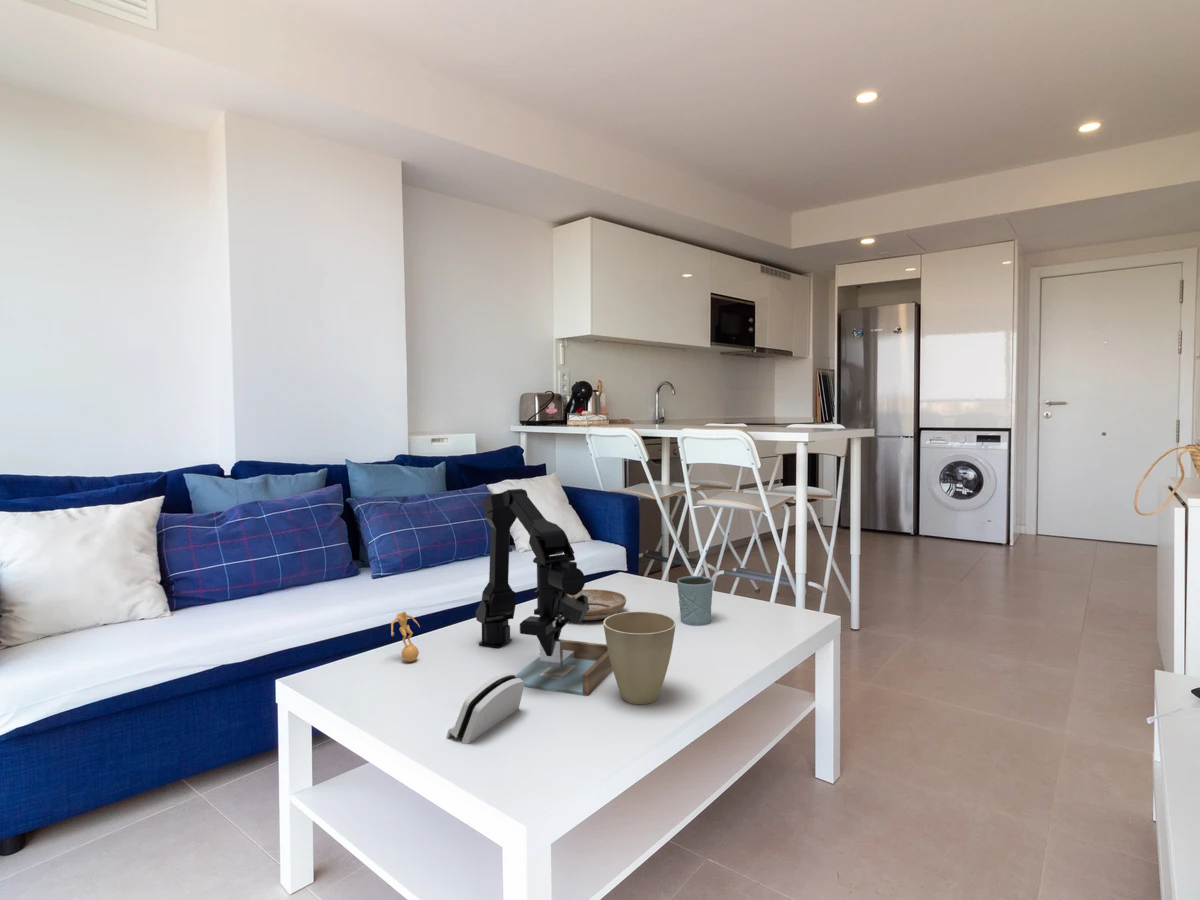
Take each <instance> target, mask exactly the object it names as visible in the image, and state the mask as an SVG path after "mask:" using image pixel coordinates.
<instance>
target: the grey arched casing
mask: <svg viewBox="0 0 1200 900" xmlns="http://www.w3.org/2000/svg"><path fill="white" fill-rule="evenodd" d="M515 675H516V674H513V673H511V672H506V673H501V674H497V675H496V676H493V677H491V678H489V680H486V681H485V682H484V683H483V684H481V685H480V686H479V687H477V688H476V689H475V690H473V692H472V693H470V694H469V696H467V698H465V700H464V702H463V703H462V706H461V708H460V712H459V715H458V717H457V720H456V722H455V725H454V726H452V727H451V728H450V727H449V729H448V730H447V734H446V739H450V738H451V737H454V738H455V739H457V738H460V739H461V743H463V744H464V745H469V744H470V743H471V742H473V741H475V739H477V738H478V737H480V736H482V735H483V734H484V733H486V732H488V731H489V730H490V729H491V728H493V727H495V726H496V725H497V724H499V723H500V722H502V721H503V720H505V719H507V718H508V717H510V716H511V715H512V714H513V713H515V712H517V711H518V710H519V709H520V706H521V701H522V697H523V692H524V684H525V683H524V682H523V681H522V680H521V679H520V678H516V677H515Z"/></svg>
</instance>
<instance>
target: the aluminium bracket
mask: <svg viewBox="0 0 1200 900" xmlns="http://www.w3.org/2000/svg"><path fill="white" fill-rule="evenodd" d="M561 639H562V638H559V639H554V643H553V651H552V656H547V655H546V653H545V651H544V649H543V647H542V645H541V643H540V642H539V657H540V666H546V667H554V668H561V667H563V666H564V665H565V664H566V663H567V662H568V661H570V660H571V659H572V658H573V657H574V651H568V650H563V640H564V639H562V640H561Z"/></svg>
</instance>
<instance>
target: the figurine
mask: <svg viewBox="0 0 1200 900" xmlns="http://www.w3.org/2000/svg"><path fill="white" fill-rule="evenodd" d="M408 618H409V619H412V621H413V622H414V623H415V624H417V626H418V627H419V628H421V626H420V624H419V623H418V621H417V620H416V619H415V618H414V617H413V616H412V615H410V614H407V612H406V611H405V610H404V611H402V612H399V613H397V615H396V616H395V618H394V620H392V621H391V623H390V630H391V631H390V634H391V635H390V636H391V637H394V636H395V635H394V634H395V632H394V624H395V623H396V622H398V623H399V625H400V627H399V632H400V633H401V635H402V636H403V637H402V642H403V645H404V647H403V649H402V650H401V658H402V659H403V661H405V662H407V663H412V662H414V661H415V660H416V659H418V657H419V649H418V647H417V646H416V645H414V643H413V642H412V641H411V638H412V636H413V633H414V632H413V631H412V630H411V628H410V625H409V624H407V623H408ZM407 634H409V635H408V636H407ZM406 639H407V641H408V644H407V642H406Z"/></svg>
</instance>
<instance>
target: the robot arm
mask: <svg viewBox="0 0 1200 900" xmlns="http://www.w3.org/2000/svg"><path fill="white" fill-rule="evenodd" d="M482 508H483V511H484V512H483V514H484V518H485V520H486V521H487V523H488V525H489V526H490V534H489V535H490V538H489V540H490V542H489V577H488V578H489V579H488V583H487V585H486V586H485V587H484V589H483V591H482V595H481V601H480V603H479V605H478V607H477V609H476V611H475V617H476V621H477V622H479V623H481V641H480V642H478V645H479V646H481V647H482V646H483V647H489V648H490V647H491V648H498V649H499V648H502V647H504V646H505V645H507V644H509V643H510V642H512V640H513V638H511V625H510V624H509V620H513V619H514V616H515V611H516V604H517V602H516V592H515V591H514V590H513V589H512V587H511V585H510V584H509V572H510V571H509V569H510V568H509V567H510V565H509V564H510V539H511V538H510V537H511V527H512V526H513V524H514V523H515V521H516V520H517V519H518V520H519V522H520V523H521V524H522V526H523V528H524V529H525V531H526V532H527V533H528V535H529V539H528V544H529V546H530V548H531V551H532V552H533V554H534V555H535V557H534V558H533V560H532V562H533V563H534V564H536V590H534V591H533V597H536V598H537V601H536V602H537V604H536V606H537V607H536V608H534V610H533V616H532V615H530V616H528V617H526V618H525V619H523V620H522V621H521V622H520V623H519V634H521V635H529V636H536V638H537V640H538V641H539V644H540V643H541V645H542V647H543V649H544V651H545V653H546V655H547V656H552V651H553V643H554V639H560V636H561V633H562V630H563V628H564V627H565V626H566V625H567V624H568V623H569V622H571V623H573V624H577V625H578V624H580V623H581V622H583V621H585V620H584V618H585V615H586V612H587V611H588V610H589V604H588V598H587V596H585V595H583V594H582V595H580V596H579V597H578V598H576V599H575V597H573V598H571V597H569V596H568V595H567V594H569V595H576V594H578V593H579V592H580V591H581V590H584V587H585V583H586V577H585V575H584V573H583V571H582V570H581V569H579V568H578V566H577V565H578V563H577V561H575V560H576V557H575V555H574V554H575V551H574V550H573V547H572V545H571V544H570V540H569V538H568V536H567V533H565V530H563V528H561V527H560V525H558V524H557V523H554V522H551V521H549V520H547V519H546V518H545V517H544V516H543V514H542V513H541V511H539V509H538V507H536V505H535V504H534V503H533V501H532V500H531V499H530V497H529V496H528V492H527V490H526V489H523V488H515V489H514V488H513V489H507V490H505V491H503V492H499V493H490V494H489V493H488V494H487V496H486V497H485V498H484V500H483V501H482ZM534 615H536V616H534Z"/></svg>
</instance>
